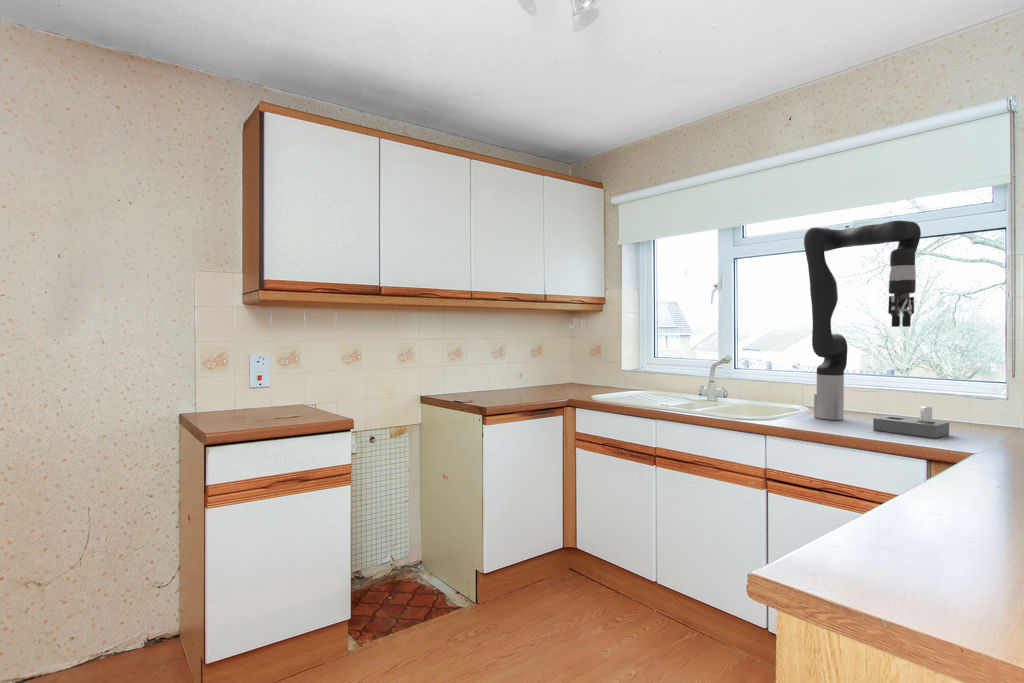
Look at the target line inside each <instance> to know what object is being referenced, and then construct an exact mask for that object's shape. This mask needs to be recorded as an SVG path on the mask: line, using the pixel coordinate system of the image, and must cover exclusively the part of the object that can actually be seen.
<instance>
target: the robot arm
mask: <svg viewBox="0 0 1024 683" xmlns="http://www.w3.org/2000/svg"><path fill="white" fill-rule="evenodd" d="M921 235H922V231H921V228H920V225H919V224H918V223H917V222H915V221H911V220H893V221H888V222H887V221H886V222H884V223H876V224H875V223H874V224H867V225H862V226H861V225H860V226H858V227H855V228H851V229H831V228H829V227H817V226H816V227H811V228H808V230H807V231H806V232H805V233H804V238H803V247H804V252H805V256H806V257H805V258H806V263H807V269H808V276H809V291H810V293H809V294H810V302H811V316H812V334H811V335H812V338H811V345H812V350H813V352H814V354H816V356H817V357H820V358H823V362H822V363H821V364H820V365H818V366H817V367H816V392H815V393H814V394H813V417H814V418H817V419H821V420H831V421H840V420H841V421H842V420H844V414H845V413H844V405H845V404H844V400H845V399H844V398H845V396H844V394H845V380H844V379H845V378H844V377H845V371H846V367H847V364H848V363H847V362H848V343H847V340H846V337H844V335H842V334H839V333H832V316H833V314H834V312H835V309H836V307H837V304H838V300H839V296H838V294H839V293H838V286H837V285H838V283H837V281H836V278H835V276H834V274H833V273H832V271H831V269H830V268H829V266H828V264H827V261H826V257H825V256H826V255H825V252H829V251H833V250H836V249H840V248H845V247H846V248H847V247H850V246H867V245H880V244H884V243H886V242H887V243H889V242H897V243H898V244H897V248H896V249H893V250H892V251H891V252H890V255H889V256H890V258H889V271H888V293H889V294H891V295H889V296H888V309H887V310H888V312H887V313H888V314H890V316H891V327H892V328H895V327H896V328H897V327H898V328H899V327H901V325H902V327H906V328H907V327H911V326H912V324H911V321H912V320H911V317H912V316H913V315H914V314H915V297H914V296H910V294H915V293H916V288H917V287H916V284H917V283H916V282H917V281H916V280H917V277H916V276H917V272H916V253H917V252H916V251H917V250H918V246H919V243H920V240H921ZM901 314H902V324H901Z"/></svg>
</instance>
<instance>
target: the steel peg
mask: <svg viewBox="0 0 1024 683" xmlns="http://www.w3.org/2000/svg"><path fill="white" fill-rule="evenodd" d="M920 419H921V423H929V424H932V420H933V407H931V406H920Z"/></svg>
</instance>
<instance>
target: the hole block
mask: <svg viewBox="0 0 1024 683" xmlns="http://www.w3.org/2000/svg"><path fill="white" fill-rule="evenodd" d="M872 420H873V422H872V423H873V425H872V426H873V430H874V431H879V432H886V433H894V434H902V435H909V436H917V437H924V438H930V439H937V438H938V439H939V438H942V437H945V436H948V435H950V422H949V421H943V420H942V421H939V420H934V419H932V424H929V423H921V418H915V417H907V416H906V417H904V416H897V415H888V414H887V415H883V416H877V417H874V418H873V419H872Z"/></svg>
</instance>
